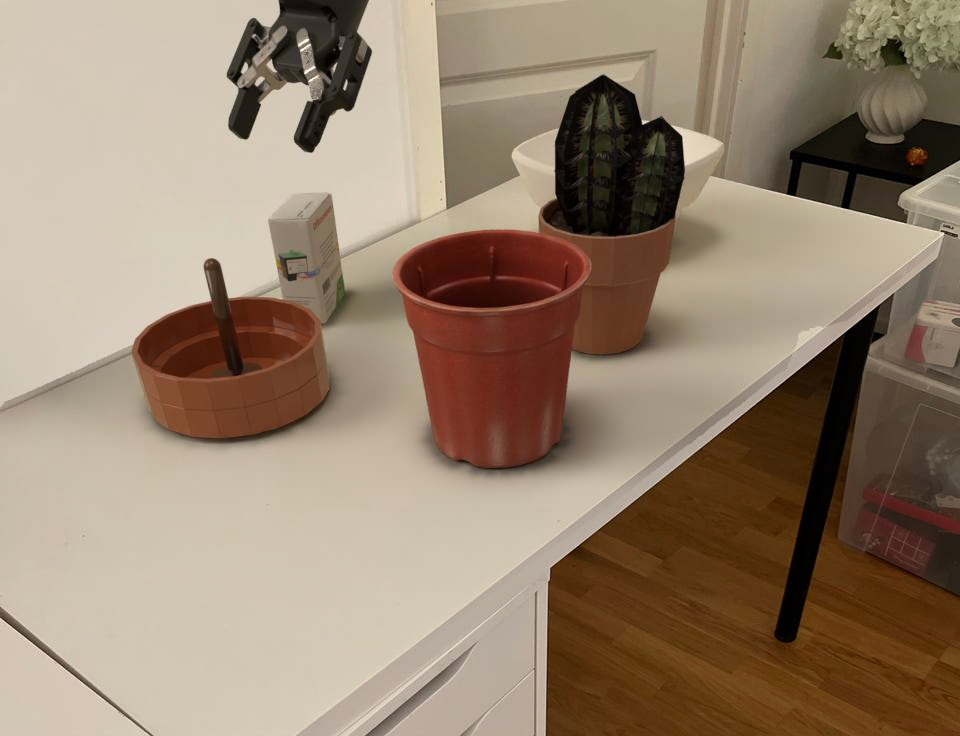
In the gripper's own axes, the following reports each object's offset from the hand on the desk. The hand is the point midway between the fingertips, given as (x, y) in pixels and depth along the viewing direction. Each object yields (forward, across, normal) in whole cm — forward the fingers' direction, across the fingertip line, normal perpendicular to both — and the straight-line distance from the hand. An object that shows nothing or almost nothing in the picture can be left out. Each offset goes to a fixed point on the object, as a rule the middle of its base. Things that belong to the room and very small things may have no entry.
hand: (269, 141), depth 89 cm
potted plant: (+1, +24, +30) cm, 39 cm away
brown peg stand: (+22, 0, +8) cm, 23 cm away
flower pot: (+17, +26, +14) cm, 34 cm away
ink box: (+8, -8, +22) cm, 25 cm away
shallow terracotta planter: (+22, 0, +8) cm, 24 cm away
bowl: (-16, +12, +47) cm, 51 cm away
